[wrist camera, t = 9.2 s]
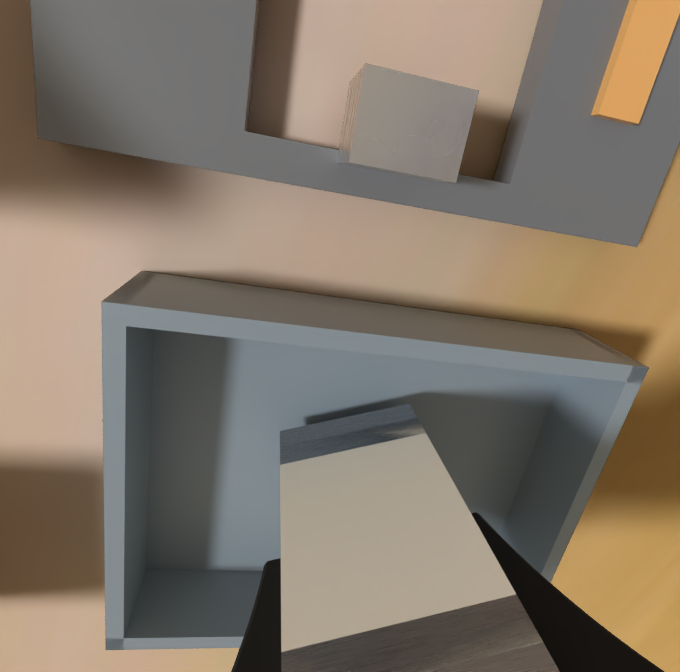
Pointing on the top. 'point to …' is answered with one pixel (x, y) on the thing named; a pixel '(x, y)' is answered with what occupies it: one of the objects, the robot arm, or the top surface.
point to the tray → (314, 407)
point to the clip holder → (381, 110)
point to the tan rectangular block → (389, 558)
